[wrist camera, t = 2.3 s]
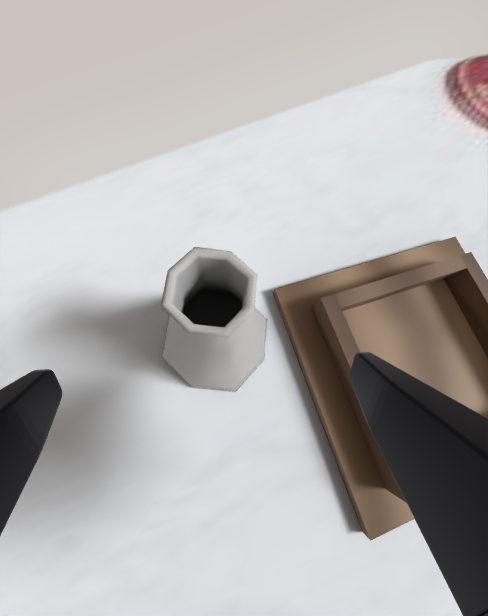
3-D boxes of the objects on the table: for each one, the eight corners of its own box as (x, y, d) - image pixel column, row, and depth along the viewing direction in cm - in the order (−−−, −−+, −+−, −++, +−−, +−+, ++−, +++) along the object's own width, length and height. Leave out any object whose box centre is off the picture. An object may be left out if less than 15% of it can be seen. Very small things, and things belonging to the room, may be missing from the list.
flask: (242, 410, 17) (269, 448, 7) (144, 364, 17) (47, 343, 8) (282, 314, 19) (343, 245, 9) (193, 274, 19) (165, 169, 10)
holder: (363, 532, 16) (392, 563, 13) (272, 292, 19) (281, 278, 17) (560, 436, 18) (619, 446, 16) (447, 241, 22) (478, 222, 19)
